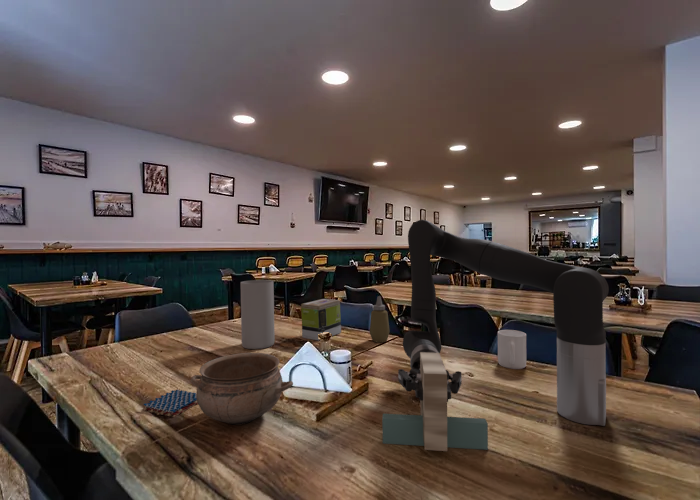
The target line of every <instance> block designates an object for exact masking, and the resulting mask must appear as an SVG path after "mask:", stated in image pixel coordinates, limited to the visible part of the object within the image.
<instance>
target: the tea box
mask: <svg viewBox="0 0 700 500" xmlns="http://www.w3.org/2000/svg"><path fill="white" fill-rule="evenodd" d="M300 306H301V307H300V311H301V334H302V335H301V336H302V337H301V338H303V339H308V340H313V341H319V339H318V334H320V333H323V332H329V333H331V334H332V336H336V335H338V334H341V333H342V318H341V315H342V314H341V300H339V299H328V298H321V299H317V300H313V301H308V302H304V303H301V304H300ZM332 336H331V337H332Z"/></svg>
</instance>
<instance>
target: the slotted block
mask: <svg viewBox="0 0 700 500" xmlns="http://www.w3.org/2000/svg"><path fill="white" fill-rule="evenodd" d="M441 358H442V356H441V353H440V354H439V353H429V352H420V372H421V382H422V386H423V401H421V400H420V399H419V401H420V406H419V407H420V410H419V411H420V412H419V413H420V415H423V440H424V446H423V447H424V451H427V450H428V451H438V452H442V451H443V452H448V447H447V417H448V402H447V373H446V370H447V369H446V367H445V364H444V361H443V359H441ZM442 361H443V362H442Z"/></svg>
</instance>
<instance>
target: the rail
mask: <svg viewBox="0 0 700 500" xmlns="http://www.w3.org/2000/svg"><path fill="white" fill-rule="evenodd" d="M381 424H382V426H381V427H382V428H381V429H382V444H389V445H405V446H421V447H422V446H423V447H424V440H423V415H418V414H399V413H382V422H381ZM488 427H489V423H488V421H487V420H486V418H481V417H478V418H477V417H460V416H459V417H457V416H447V448H451V449H452V448H453V449H455V448H456V449H469V450H470V449H471V450H487V451H488V450H489V433H488V432H489V431H488V430H489V428H488Z"/></svg>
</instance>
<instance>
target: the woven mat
mask: <svg viewBox="0 0 700 500" xmlns="http://www.w3.org/2000/svg"><path fill="white" fill-rule="evenodd" d="M196 393H197V392H192V391H187V390H182V389H181V390H180V389H176V390H173V389H172V390H170V392H165V395H164V394H163V395H160V397H156V398H154V400H150V401H149V402H147V403H143V406H144V407H143V409H142V410H143V412H146V411H147V412H148V413H151V414H152V413H154V414H156V415H159V416H160V415H165V416H166V417H167V416H168V417H172V418H175V417H177V416H178V415H180V414H182V413H184V412H186V411H187V410H189V409H190V408H193V407H195V406H196V405H198V403H197V396H196Z"/></svg>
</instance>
